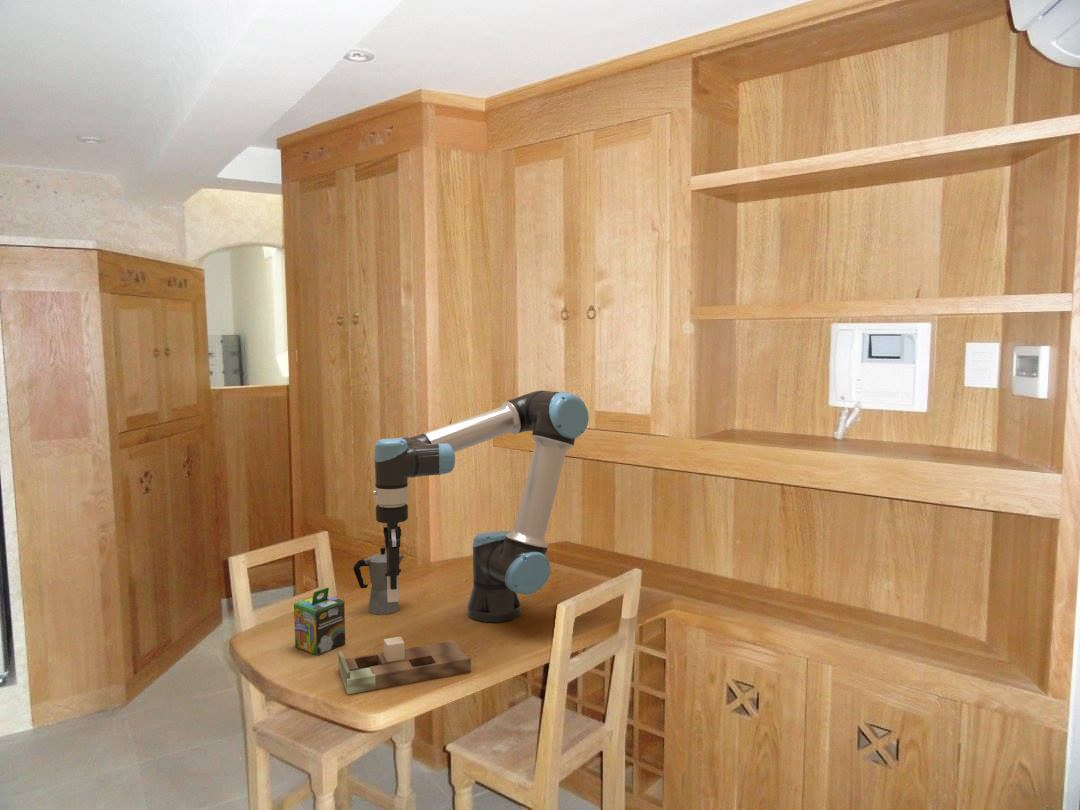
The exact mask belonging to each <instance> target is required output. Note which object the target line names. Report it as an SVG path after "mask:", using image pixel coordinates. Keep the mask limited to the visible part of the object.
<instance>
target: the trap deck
mask: <svg viewBox="0 0 1080 810" xmlns="http://www.w3.org/2000/svg"><path fill="white" fill-rule="evenodd" d="M337 656H338V657H337V658H338V660H337V661H338V663H337V665H338V669H337V670H338V673H339V676H340V678H341V681H342V683H343V686H344V688H345V692H346V693H347V695H352V694H357V693H358V694H359V693H362V692H363V693H364V692H369V691H373V690H374V691H375V690H379V689H385V688H391V687H395V686H402V685H407V684H413V683H419V682H423V681H429V680H434V679H440V678H444V677H451V676H455V675H461V674H467V673H471V672H472V668H471V667H472V666H471V665H472V662H471V661H472V659H471V657H469V656H467V655H466V653H464V651H463V650H462V649H461V647H460V646H459V645H458V643H456V642H455V641H454V640H451V641H446V642H445V641H444V642H439V643H433V644H426V645H421V646H416V647H415V646H414V647H409V648H405V659H403V660H397V661H391V662H387V660H386V658H385V656H384V652H379V653H373V654H366V655H361V656H360V655H359V656H355V657H349V658H345V657H344V654H343V651H340V650H339V651H337Z"/></svg>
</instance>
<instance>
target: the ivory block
mask: <svg viewBox="0 0 1080 810" xmlns="http://www.w3.org/2000/svg"><path fill="white" fill-rule="evenodd" d="M405 644H406V643H405V641H404V640H403V638H402V636H396V637H388V638H383V653H384V656H385V658H386V660H387V662H391V661H397V660H403V659H405V649H406V648H405V647H406V646H405Z"/></svg>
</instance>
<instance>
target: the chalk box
mask: <svg viewBox="0 0 1080 810" xmlns="http://www.w3.org/2000/svg"><path fill="white" fill-rule="evenodd" d="M329 592H330V588H329V587H325V588H322V589H319V590H317V591H314V592H313V596H310V597H308V598H306V599H303V600H301V601H298V602H295V603H294V604H293V617H294V643H295V644H294V645H295V648H297V649H301V650H303V651H305V652H307V653H309V654H312V655H315V656H317V657H318V656H319V655H321V654H324V653H326V652H327V653H328V652H329V651H331V650H332V651H333V650H334V649H337V648H340V647H341V646H344V644H345V645H346V618H345V617H346V615H345V612H346V611H345V610H346V609H345V603H346V602H345V600H344V599H343V600H342V599H340V598H338V597H337V598H336V597H334V596H331V595H329Z"/></svg>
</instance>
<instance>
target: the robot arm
mask: <svg viewBox="0 0 1080 810" xmlns="http://www.w3.org/2000/svg"><path fill="white" fill-rule="evenodd" d="M588 425H589V410H588V408H587V405H586V404H585V402H584V400H583V399H582V398H580V397H579V396H578V395H576V394H573V393H569V392H566V391H550V390H542V389H541V390H536V391H531V392H529V393H528V392H527V393H525V394H523V395H519V396H517V397H515V398H512V399H509V400H505V401H504V402H503V403H501V406H499V407H497V408H493V409H491V410H488V411H485V412H482V413H479V414H476V415H473V416H471V417H470V416H469V417H467V418H464V419H462V420H459V421H455V422H453V423H450V424H447V425H443V426H441V427H437V428H434V429H433V430H429V431H425V432H424V433H420V434H418V435H415V436H410V437H408V436H402V437H398V438H397V437H396V438H382V439H379V440H377V441H376V442H375V444H374V445H375V446H374V458H373V461H374V477H375V479H374V480H375V481H374V482H375V490H373V491H372V496H373V495H374V496H375V504H377V505H376V506H375V521H377V522H378V523H381V524H386V526H385V527H382V528H383V529H382V530H383V535H384V536H383V537H384V546H385V548H386V550H385V553H386V556H387V565H386V567H387V573H385V577H386V576H387V600H388V602H398V603H399V602H400V575H401V571H402V568H400V564H399V554H400V547H401V537H402V528H401V526H398V524H400V523H404V522H407V520H408V518H409V505H408V504H407V503H408V502H409V485H408V478H417V477H427V476H428V477H429V476H430V477H431V476H441V475H445V474H451V472H452V471H453V470H454V468H455V466H456V454H455V453H457V452H460V451H463V450H465V449H468V448H471V447H473V446H476V445H479V444H481V443H485V442H487V441H490V440H492V439H495V438H499V437H501V436H504V435H507V434H511V435H517V434H520V433H525V432H532V434H531V437H532V439H533V441H534V443H535V445H534V449H533V452H532V457H531V460H530V464H529V467H528V471H527V476H526V480H525V482H524V486H523V490H522V494H521V497H520V502H519V507H518V510H517V513H516V518H515V522H514V525H513V529H512V531H509V530H494V531H486V532H481V533H478V534H476V535H475V536H474V538H473V543H472V548H471V549H472V565H473V566H472V568H473V569H472V570H473V571H472V572H473V573H472V575H473V577H472V579H473V580H472V581H473V586H472V587H473V588H472V590H471V592H470V596H469V599H468V603H467V608H466V611H467V616H468V617H469V618H470V619H472V620H474V621H478V622H483V623H503V622H508V621H511V620H515V619H517V618H518V617H519V616H521V614H522V605H521V601H520V598H519V595H518V594H521V595H531V594H535V593H537V591H539V590H541V589H542V588H543V587H544V586H545V585H546V584H547V582H548V580H549V578H550V574H551V564H550V562H549V559H548V557H547V552H548V548H549V546H548V543H547V541H546V540H545V536H546V533H547V529H548V524H549V520H550V517H551V513H552V509H553V506H554V505H553V504H554V502H555V501H554V500H555V498H556V493H557V489H558V485H559V481H560V478H561V473H562V470H563V467H564V461H565V459H566V454H567V452H568V451H569V450H570V449H572V448H573V447H574V445H575V442H576V438H579V437H581V435H583V434H584V433H585V431H586V429H587V428H588Z"/></svg>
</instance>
